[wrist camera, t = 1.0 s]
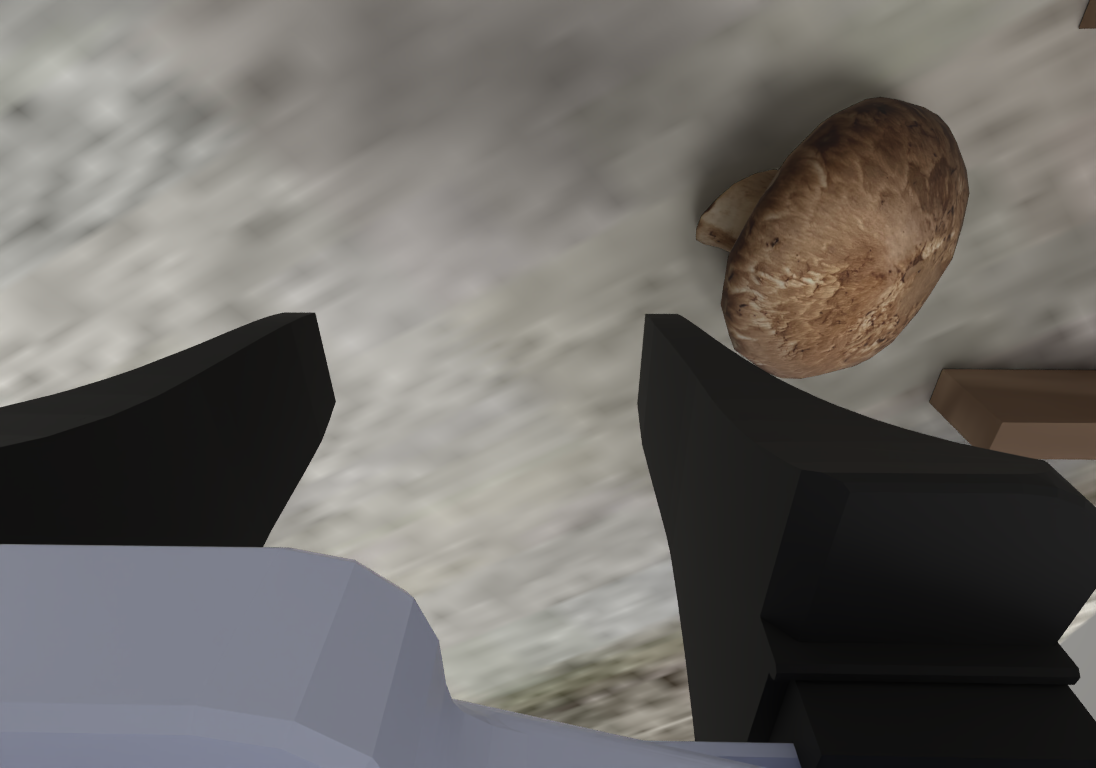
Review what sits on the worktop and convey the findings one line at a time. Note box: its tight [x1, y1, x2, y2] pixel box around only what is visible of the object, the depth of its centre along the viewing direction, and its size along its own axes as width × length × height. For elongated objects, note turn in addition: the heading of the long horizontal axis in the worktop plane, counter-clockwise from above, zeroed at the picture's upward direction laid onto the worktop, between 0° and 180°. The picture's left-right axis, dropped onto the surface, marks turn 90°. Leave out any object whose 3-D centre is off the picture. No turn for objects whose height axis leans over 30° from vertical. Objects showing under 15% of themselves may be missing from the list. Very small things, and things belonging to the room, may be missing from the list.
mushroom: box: [696, 97, 969, 379], centre depth 17 cm, size 8×8×6 cm
